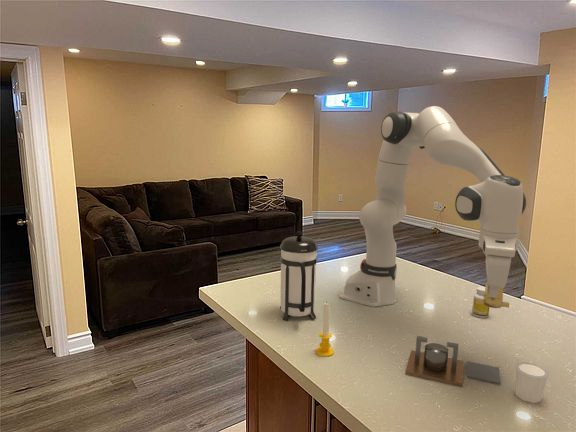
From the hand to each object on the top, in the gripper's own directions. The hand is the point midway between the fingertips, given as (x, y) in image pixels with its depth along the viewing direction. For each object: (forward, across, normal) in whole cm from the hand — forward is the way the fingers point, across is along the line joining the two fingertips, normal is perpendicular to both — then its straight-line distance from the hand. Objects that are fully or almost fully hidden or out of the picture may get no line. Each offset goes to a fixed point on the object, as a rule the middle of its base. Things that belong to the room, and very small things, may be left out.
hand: (492, 293), depth 108 cm
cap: (+3, 0, 0) cm, 3 cm away
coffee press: (+23, -13, -58) cm, 64 cm away
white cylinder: (+23, +6, +10) cm, 26 cm away
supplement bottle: (+23, -41, 0) cm, 47 cm away
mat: (+23, 0, 0) cm, 23 cm away
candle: (+23, +7, -42) cm, 48 cm away
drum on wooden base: (+23, +3, -12) cm, 26 cm away
